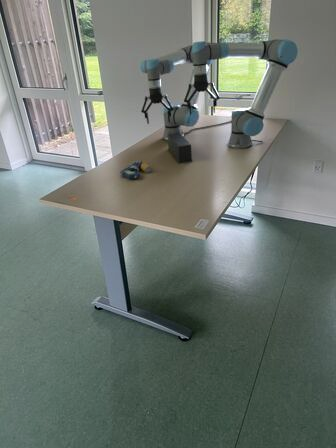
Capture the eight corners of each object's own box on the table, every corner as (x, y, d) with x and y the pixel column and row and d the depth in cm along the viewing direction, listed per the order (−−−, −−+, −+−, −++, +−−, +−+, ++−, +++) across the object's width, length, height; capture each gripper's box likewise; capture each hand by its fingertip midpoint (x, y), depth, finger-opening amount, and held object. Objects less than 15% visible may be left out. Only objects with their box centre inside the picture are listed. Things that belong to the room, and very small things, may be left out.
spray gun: (156, 167, 200) (135, 165, 206) (156, 160, 198) (134, 158, 204) (139, 182, 185) (117, 179, 191) (138, 174, 183) (115, 172, 189)
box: (168, 149, 227) (167, 134, 222) (179, 147, 229) (178, 132, 223) (179, 163, 204) (178, 146, 199) (191, 161, 205) (191, 144, 200)
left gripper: (134, 90, 200) (138, 125, 212) (175, 86, 198) (178, 122, 209) (135, 87, 207) (140, 122, 218) (175, 84, 205) (178, 119, 216)
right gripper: (177, 76, 182) (180, 116, 193) (223, 72, 178) (224, 113, 189) (178, 74, 188) (181, 113, 199) (223, 70, 184) (223, 109, 195)
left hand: (158, 122), depth 214 cm, fingers open, 13 cm apart
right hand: (202, 113), depth 194 cm, fingers open, 13 cm apart
